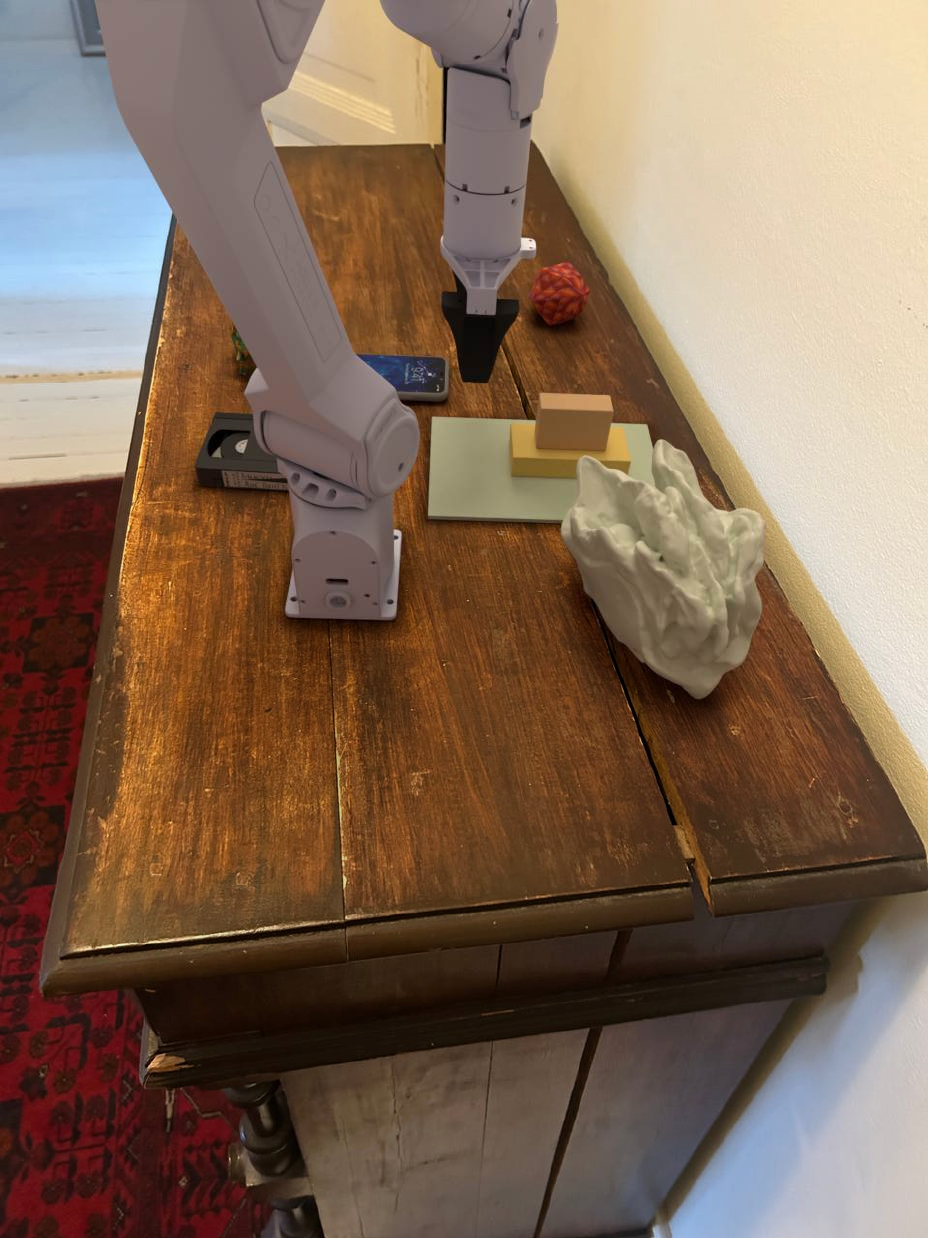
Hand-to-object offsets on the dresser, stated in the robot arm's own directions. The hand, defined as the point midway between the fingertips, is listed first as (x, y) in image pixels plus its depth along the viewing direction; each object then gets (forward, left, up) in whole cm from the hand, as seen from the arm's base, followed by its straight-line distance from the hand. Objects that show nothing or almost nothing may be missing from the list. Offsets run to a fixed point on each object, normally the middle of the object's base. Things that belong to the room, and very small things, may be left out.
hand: (475, 354), depth 70 cm
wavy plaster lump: (-20, -13, -10) cm, 26 cm away
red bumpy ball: (+24, -10, -10) cm, 28 cm away
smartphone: (+10, +9, -9) cm, 17 cm away
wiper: (-2, -9, -9) cm, 13 cm away
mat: (-3, -7, -9) cm, 12 cm away
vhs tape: (-3, +15, -10) cm, 18 cm away
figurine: (+14, +22, -10) cm, 27 cm away
